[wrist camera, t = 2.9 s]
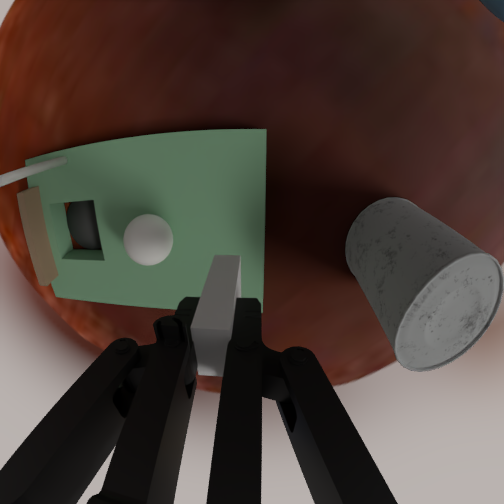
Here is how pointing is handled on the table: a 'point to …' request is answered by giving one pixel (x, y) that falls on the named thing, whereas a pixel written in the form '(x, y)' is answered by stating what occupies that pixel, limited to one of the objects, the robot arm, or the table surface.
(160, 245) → the ball
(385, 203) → the grey can
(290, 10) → the table surface
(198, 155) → the green
